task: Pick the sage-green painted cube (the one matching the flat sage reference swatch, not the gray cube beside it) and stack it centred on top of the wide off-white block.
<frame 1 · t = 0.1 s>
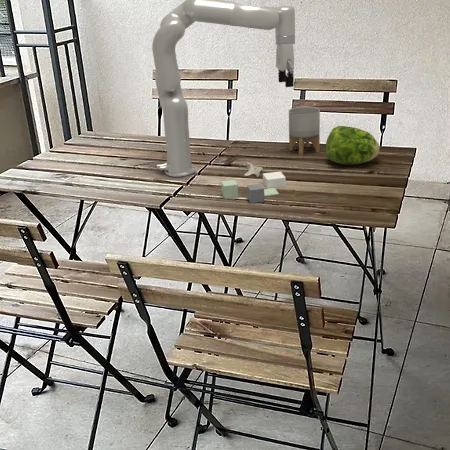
hand: (286, 84, 249), 31 cm above the table, fingers open, 9 cm apart
gray cube: (256, 200, 224), on the table
green rounded lump: (352, 163, 254), on the table
planter: (304, 151, 271), on the table
reference swatch: (268, 192, 229), on the table
sage cube: (230, 195, 229), on the table
fossil: (253, 174, 250), on the table
base block: (274, 185, 236), on the table
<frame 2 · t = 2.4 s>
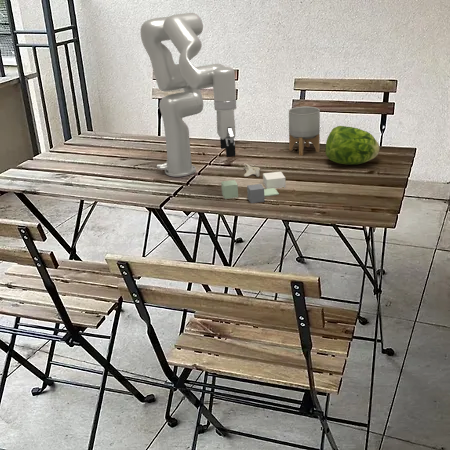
hand: (228, 152, 222), 16 cm above the table, fingers open, 9 cm apart
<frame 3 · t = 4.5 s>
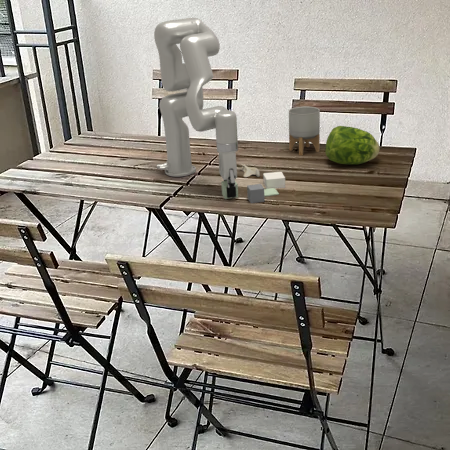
hand: (230, 193, 229), 1 cm above the table, fingers closed on sage cube, 5 cm apart
sage cube: (230, 195, 229), on the table, touching gripper
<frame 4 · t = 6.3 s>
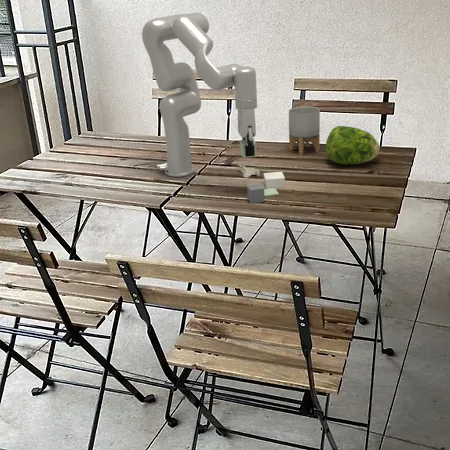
hand: (248, 153, 226), 15 cm above the table, fingers closed on sage cube, 5 cm apart
sage cube: (248, 155, 226), point 14 cm above the table, touching gripper
when the fingers open (5 cm above the table, at t = 8.3 s): sage cube stays where it is, resting on base block.
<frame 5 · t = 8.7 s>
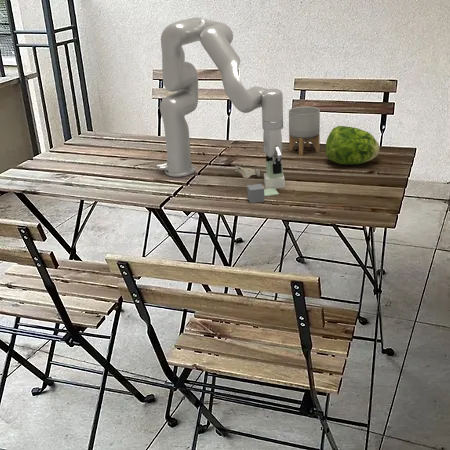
hand: (273, 169, 234), 6 cm above the table, fingers open, 9 cm apart
sage cube: (274, 175, 235), point 4 cm above the table, touching base block
base block: (274, 185, 236), on the table, touching sage cube
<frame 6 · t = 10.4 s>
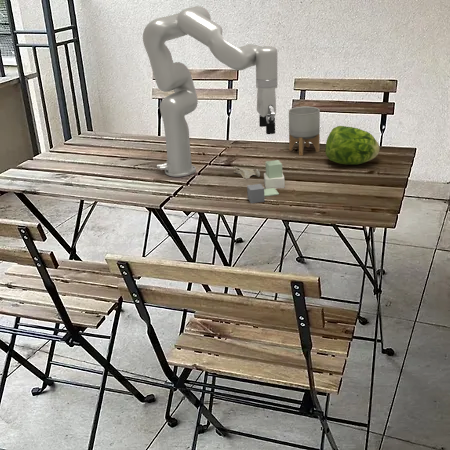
hand: (267, 130, 229), 21 cm above the table, fingers open, 9 cm apart
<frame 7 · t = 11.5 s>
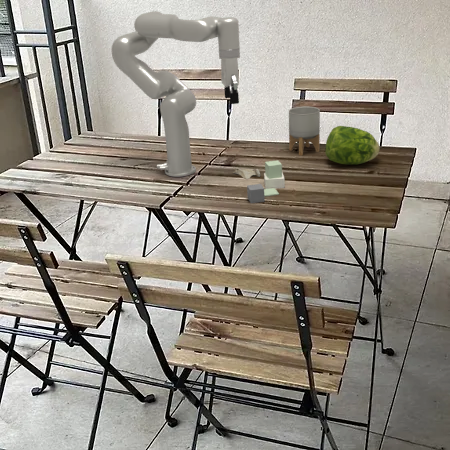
hand: (231, 100, 233), 30 cm above the table, fingers open, 9 cm apart
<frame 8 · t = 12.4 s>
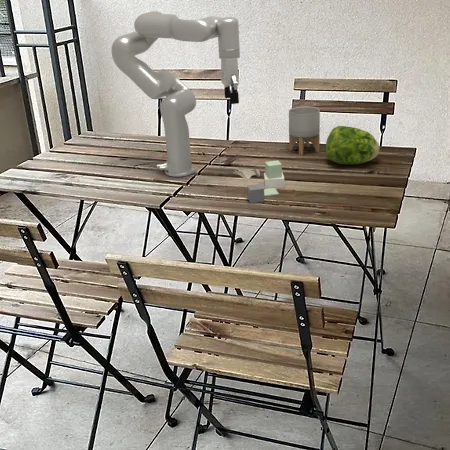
hand: (231, 100, 233), 30 cm above the table, fingers open, 9 cm apart
sage cube: (273, 175, 234), point 4 cm above the table
base block: (274, 185, 236), on the table
at the end: sage cube 0.4 cm off-centre on the base block, point 4.0 cm above the base block's base; sage cube tilted 0°; gray cube moved 0.1 cm from its start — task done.
